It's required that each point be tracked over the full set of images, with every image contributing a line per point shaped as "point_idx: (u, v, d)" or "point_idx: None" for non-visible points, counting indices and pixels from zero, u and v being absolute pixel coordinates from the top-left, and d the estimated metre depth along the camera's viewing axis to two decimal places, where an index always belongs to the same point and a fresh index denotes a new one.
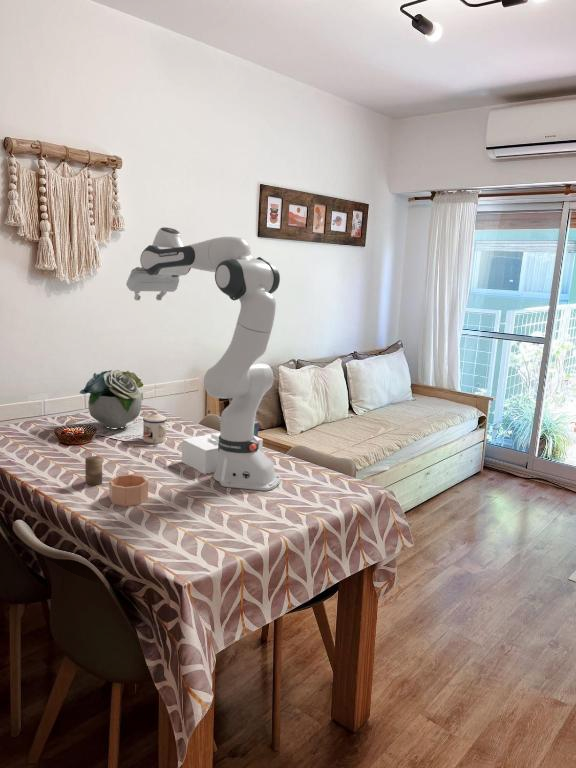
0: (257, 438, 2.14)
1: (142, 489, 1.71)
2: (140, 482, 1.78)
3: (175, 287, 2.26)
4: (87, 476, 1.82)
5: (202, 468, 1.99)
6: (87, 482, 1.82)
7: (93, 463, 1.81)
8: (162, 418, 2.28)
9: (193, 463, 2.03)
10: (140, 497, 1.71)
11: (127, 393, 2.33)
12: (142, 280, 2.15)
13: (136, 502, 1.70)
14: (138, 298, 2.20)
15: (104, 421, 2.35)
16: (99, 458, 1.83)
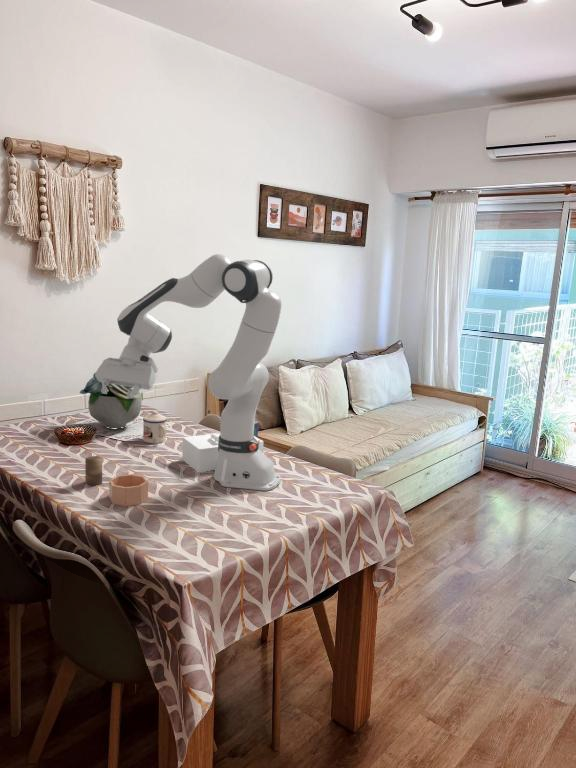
0: None
1: (142, 489, 1.71)
2: (140, 482, 1.78)
3: (147, 378, 1.91)
4: (87, 476, 1.82)
5: (196, 466, 2.00)
6: (87, 482, 1.82)
7: (93, 463, 1.81)
8: (162, 418, 2.28)
9: (190, 461, 2.05)
10: (140, 497, 1.71)
11: None
12: (110, 366, 1.97)
13: (136, 502, 1.70)
14: (103, 388, 1.93)
15: (104, 421, 2.35)
16: (99, 458, 1.83)
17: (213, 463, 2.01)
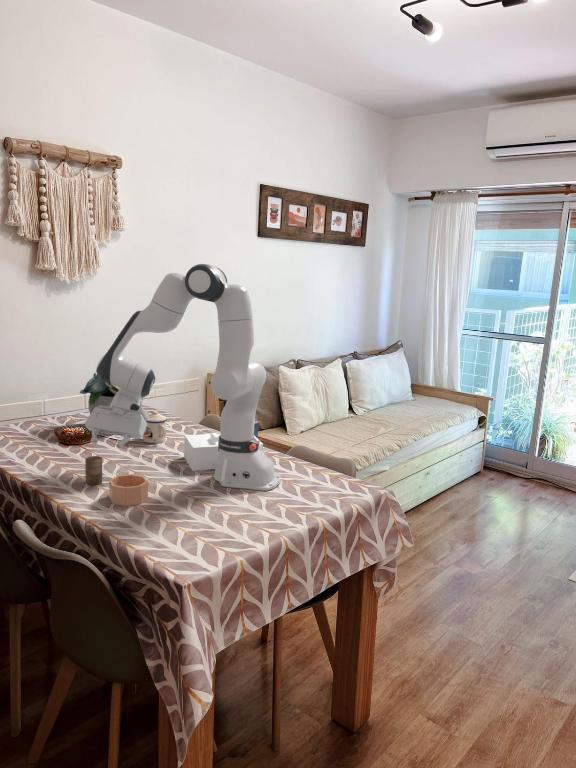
0: None
1: (142, 489, 1.71)
2: (140, 482, 1.78)
3: (137, 427, 1.89)
4: (87, 476, 1.82)
5: (191, 464, 2.02)
6: (87, 482, 1.82)
7: (93, 463, 1.81)
8: (162, 418, 2.28)
9: (188, 459, 2.07)
10: (140, 497, 1.71)
11: None
12: (100, 415, 1.94)
13: (136, 502, 1.70)
14: (93, 438, 1.90)
15: None
16: (99, 458, 1.83)
17: (208, 462, 2.02)
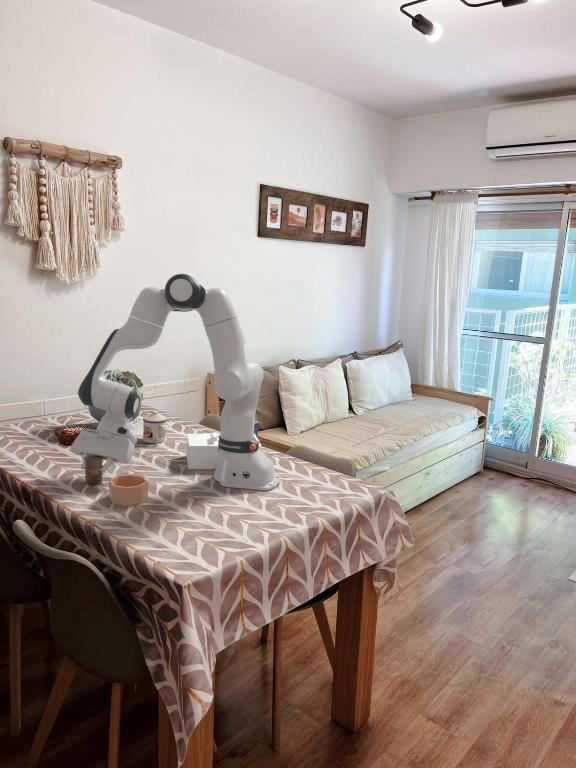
0: None
1: (142, 489, 1.71)
2: (140, 482, 1.78)
3: (124, 452, 1.83)
4: (87, 476, 1.82)
5: (188, 463, 2.03)
6: (87, 482, 1.82)
7: (93, 463, 1.81)
8: (162, 418, 2.28)
9: (187, 457, 2.08)
10: (140, 497, 1.71)
11: None
12: (87, 439, 1.88)
13: (136, 502, 1.70)
14: (83, 464, 1.84)
15: None
16: (99, 458, 1.83)
17: (204, 462, 2.03)
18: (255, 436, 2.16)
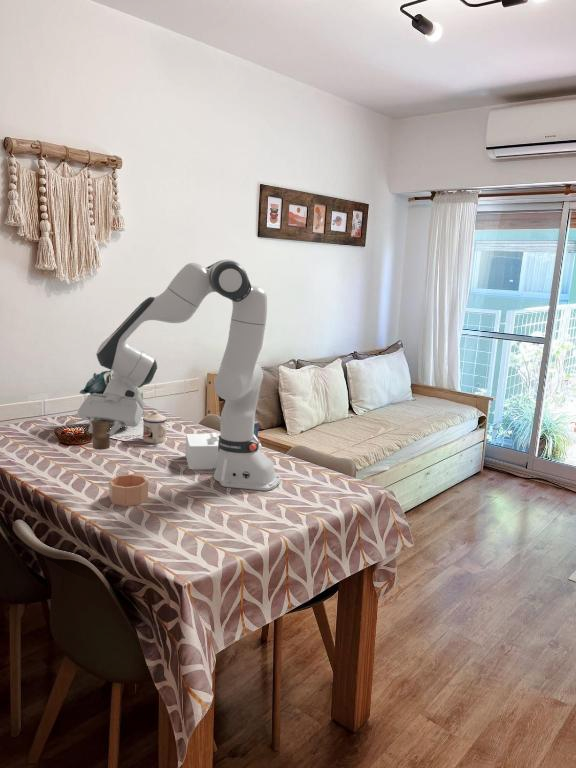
0: None
1: (142, 489, 1.71)
2: (140, 482, 1.78)
3: (132, 414, 1.78)
4: (94, 440, 1.78)
5: (188, 463, 2.03)
6: (94, 446, 1.78)
7: (100, 426, 1.76)
8: (162, 418, 2.28)
9: (187, 457, 2.08)
10: (140, 497, 1.71)
11: None
12: (94, 403, 1.84)
13: (136, 502, 1.70)
14: (91, 428, 1.79)
15: None
16: (106, 421, 1.79)
17: (205, 462, 2.02)
18: (254, 436, 2.17)
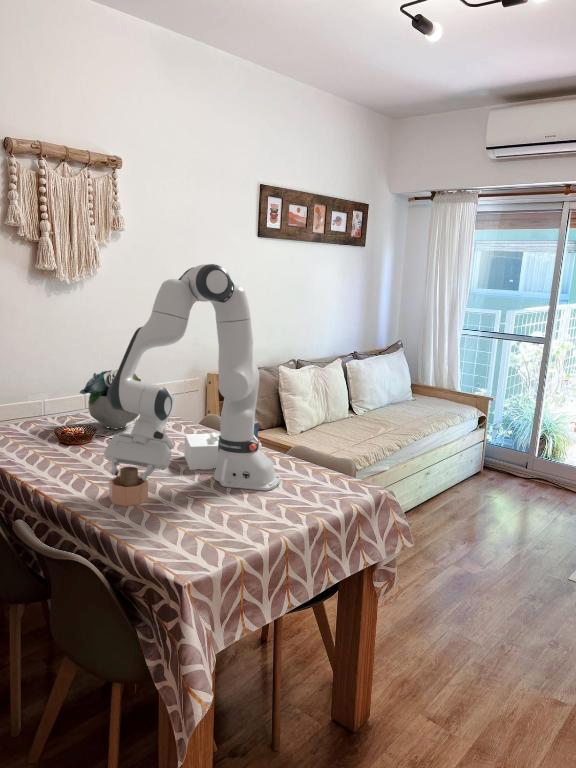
0: None
1: (142, 489, 1.71)
2: (140, 482, 1.78)
3: (161, 458, 1.72)
4: None
5: (189, 463, 2.02)
6: None
7: (128, 475, 1.70)
8: None
9: (187, 458, 2.08)
10: (140, 497, 1.71)
11: None
12: (121, 444, 1.78)
13: (136, 502, 1.70)
14: (113, 470, 1.74)
15: (104, 421, 2.35)
16: (134, 469, 1.73)
17: (205, 462, 2.02)
18: None
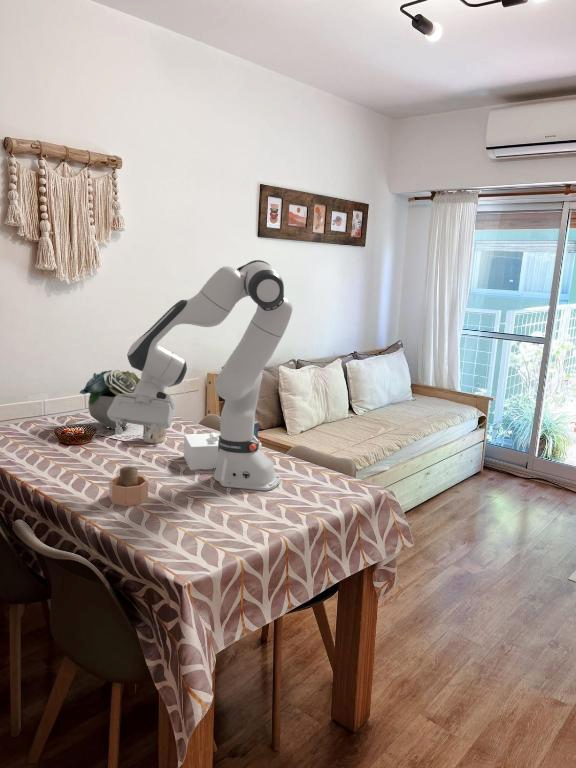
0: None
1: (142, 489, 1.71)
2: (140, 482, 1.78)
3: (165, 417, 1.78)
4: None
5: (189, 463, 2.02)
6: None
7: (128, 475, 1.70)
8: None
9: (187, 458, 2.07)
10: (140, 497, 1.71)
11: (127, 393, 2.33)
12: (123, 404, 1.83)
13: (136, 502, 1.70)
14: (118, 429, 1.79)
15: (104, 421, 2.35)
16: (134, 469, 1.73)
17: (206, 462, 2.02)
18: None
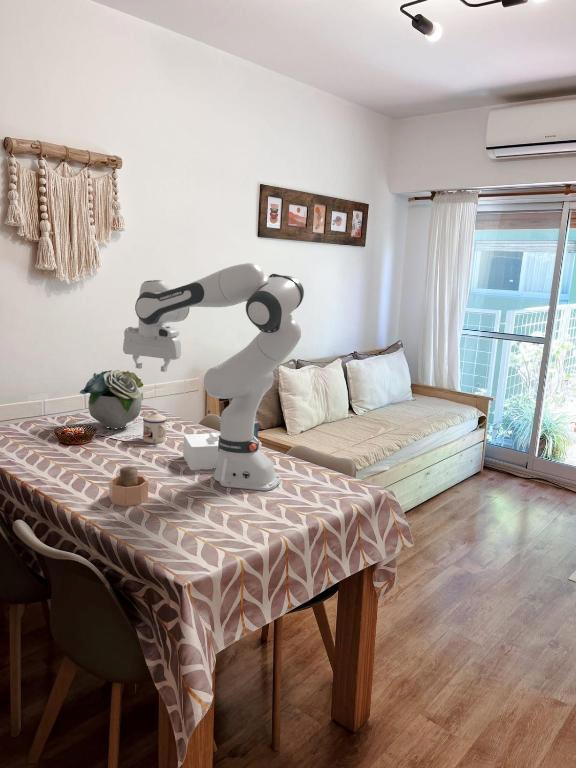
0: None
1: (142, 489, 1.71)
2: (140, 482, 1.78)
3: (173, 353, 1.93)
4: None
5: (190, 464, 2.02)
6: None
7: (128, 475, 1.70)
8: (162, 418, 2.28)
9: (187, 458, 2.07)
10: (140, 497, 1.71)
11: (127, 393, 2.33)
12: (134, 341, 1.97)
13: (136, 502, 1.70)
14: (137, 365, 1.99)
15: (104, 421, 2.35)
16: (134, 469, 1.73)
17: (206, 462, 2.02)
18: None
